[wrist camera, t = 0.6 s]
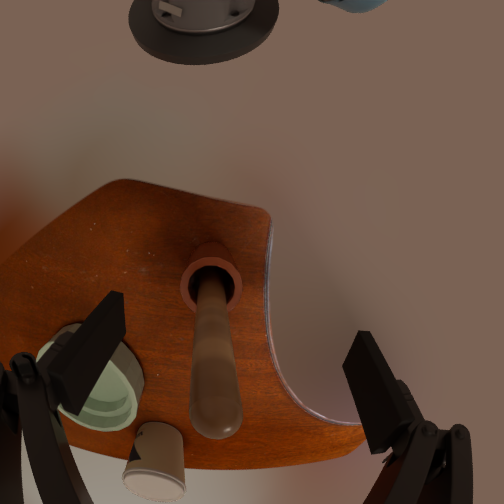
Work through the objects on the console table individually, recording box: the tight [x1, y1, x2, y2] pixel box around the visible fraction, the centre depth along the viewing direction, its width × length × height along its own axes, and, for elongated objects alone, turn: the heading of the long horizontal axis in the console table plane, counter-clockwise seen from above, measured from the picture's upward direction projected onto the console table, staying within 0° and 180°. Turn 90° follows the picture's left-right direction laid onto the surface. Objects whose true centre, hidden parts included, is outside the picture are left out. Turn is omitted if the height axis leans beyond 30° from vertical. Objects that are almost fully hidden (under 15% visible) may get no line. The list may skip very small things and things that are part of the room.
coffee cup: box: [122, 422, 186, 502], centre depth 31 cm, size 9×9×12 cm
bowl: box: [36, 323, 144, 431], centre depth 31 cm, size 16×16×6 cm
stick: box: [189, 265, 243, 439], centre depth 21 cm, size 2×2×24 cm
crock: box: [180, 242, 243, 313], centre depth 29 cm, size 5×6×10 cm
